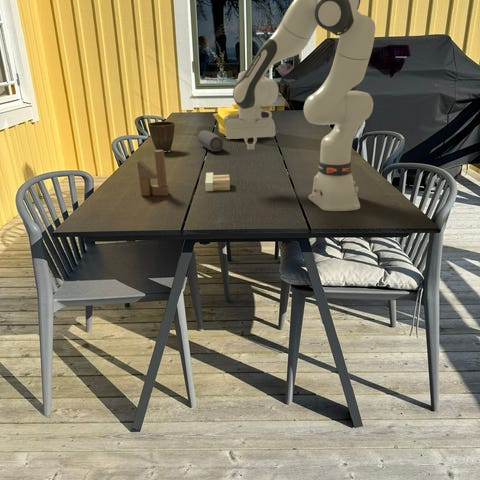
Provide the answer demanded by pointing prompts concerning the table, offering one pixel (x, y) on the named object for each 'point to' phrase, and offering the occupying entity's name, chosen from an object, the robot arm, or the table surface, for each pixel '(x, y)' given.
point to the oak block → (221, 182)
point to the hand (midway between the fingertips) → (250, 149)
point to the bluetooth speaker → (210, 140)
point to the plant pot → (162, 134)
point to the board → (209, 182)
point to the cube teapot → (223, 113)
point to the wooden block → (153, 177)
